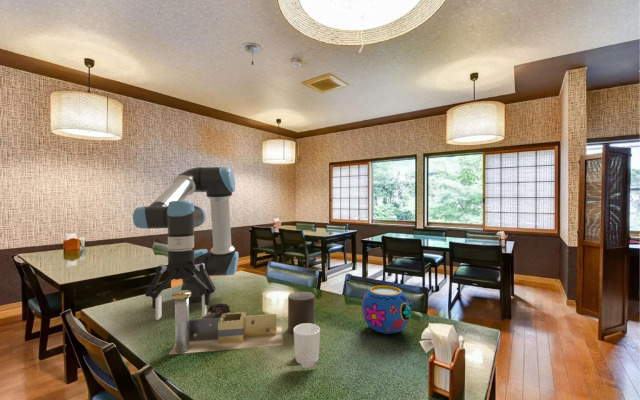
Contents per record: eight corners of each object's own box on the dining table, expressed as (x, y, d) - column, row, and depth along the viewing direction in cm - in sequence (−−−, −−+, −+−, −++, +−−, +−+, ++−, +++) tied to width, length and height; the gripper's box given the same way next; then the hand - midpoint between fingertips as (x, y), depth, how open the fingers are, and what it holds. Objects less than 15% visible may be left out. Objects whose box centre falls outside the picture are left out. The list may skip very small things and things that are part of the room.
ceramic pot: (411, 345, 96) (411, 300, 96) (358, 338, 102) (357, 295, 101) (411, 323, 113) (410, 284, 113) (365, 318, 118) (365, 281, 118)
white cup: (293, 355, 90) (293, 323, 90) (319, 354, 91) (318, 322, 91) (293, 370, 83) (293, 335, 83) (321, 369, 83) (321, 334, 83)
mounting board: (184, 334, 105) (184, 330, 105) (281, 327, 111) (281, 323, 111) (168, 358, 90) (168, 354, 90) (282, 348, 95) (282, 344, 95)
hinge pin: (176, 346, 94) (175, 290, 94) (193, 345, 95) (193, 289, 95) (170, 355, 89) (169, 296, 89) (188, 353, 90) (188, 295, 90)
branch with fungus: (197, 332, 107) (196, 317, 107) (185, 329, 110) (184, 314, 110) (232, 315, 123) (232, 302, 123) (221, 312, 126) (220, 299, 126)
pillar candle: (304, 342, 99) (304, 298, 99) (282, 335, 104) (282, 293, 104) (319, 331, 107) (319, 290, 107) (298, 325, 112) (298, 286, 112)
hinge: (190, 335, 102) (189, 315, 102) (276, 329, 106) (276, 309, 106) (182, 347, 94) (182, 325, 94) (276, 339, 98) (276, 318, 98)
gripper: (132, 252, 86) (133, 324, 86) (220, 249, 90) (220, 318, 90) (144, 248, 94) (144, 314, 94) (224, 246, 97) (224, 309, 97)
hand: (181, 316), depth 92 cm, fingers open, 13 cm apart
